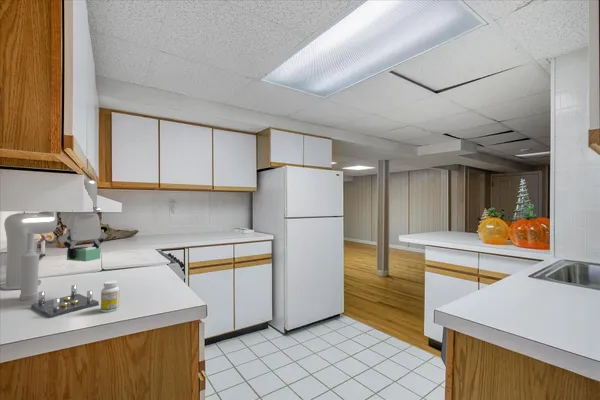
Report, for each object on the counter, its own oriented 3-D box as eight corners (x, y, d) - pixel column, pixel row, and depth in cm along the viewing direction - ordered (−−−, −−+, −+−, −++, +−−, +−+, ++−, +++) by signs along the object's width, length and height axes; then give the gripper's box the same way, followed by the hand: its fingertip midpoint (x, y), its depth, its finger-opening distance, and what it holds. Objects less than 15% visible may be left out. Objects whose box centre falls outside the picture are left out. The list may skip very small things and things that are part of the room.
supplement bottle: (112, 312, 97) (113, 284, 97) (96, 312, 97) (97, 284, 97) (122, 306, 103) (123, 280, 103) (107, 306, 103) (108, 279, 103)
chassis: (31, 307, 100) (31, 292, 100) (78, 296, 112) (78, 283, 112) (50, 317, 92) (50, 301, 92) (98, 304, 104) (99, 290, 104)
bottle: (40, 297, 110) (42, 232, 111) (22, 301, 106) (24, 234, 106) (35, 295, 113) (36, 232, 113) (17, 299, 109) (19, 233, 109)
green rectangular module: (66, 260, 109) (67, 247, 109) (82, 257, 115) (82, 245, 115) (85, 261, 107) (86, 249, 107) (100, 258, 113) (100, 246, 113)
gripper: (103, 210, 121) (102, 253, 120) (52, 211, 105) (51, 259, 105) (113, 211, 117) (112, 254, 117) (62, 212, 102) (61, 262, 101)
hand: (83, 256), depth 111 cm, fingers closed on green rectangular module, 7 cm apart
